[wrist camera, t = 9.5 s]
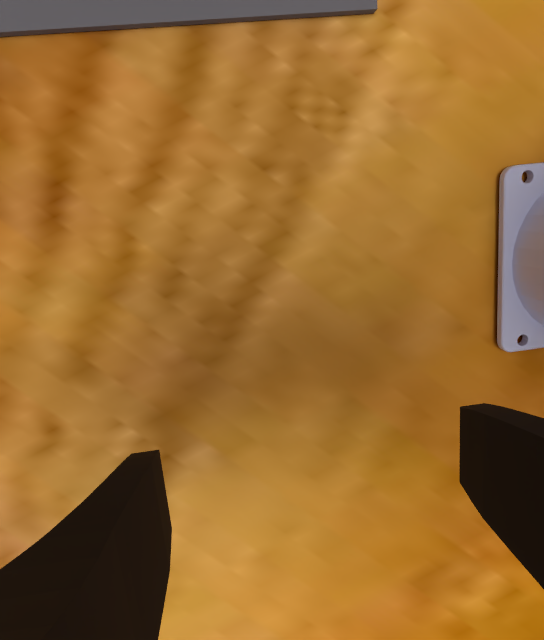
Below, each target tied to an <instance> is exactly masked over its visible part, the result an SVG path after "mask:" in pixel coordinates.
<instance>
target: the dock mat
mask: <svg viewBox="0 0 544 640" xmlns="http://www.w3.org/2000/svg"><path fill="white" fill-rule="evenodd" d="M376 10H377V0H0V37H5V36H21V35H37V34H53V33H69V32H85V31H101V30H117V29H133V28H149V27H165V26H181V25H197V24H213V23H229V22H245V21H261V20H276V19H292V18H308V17H324V16H340V15H356V14H372V13H374V12H375V11H376Z"/></svg>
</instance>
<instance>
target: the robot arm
mask: <svg viewBox="0 0 544 640" xmlns="http://www.w3.org/2000/svg"><path fill="white" fill-rule="evenodd" d="M524 171H525V172H526V173H527V180H526V181H525V183H524V182H523V181H522V178H521V177H522V174H523V173H524ZM520 335H522V337H523V338H522V340H521V342H519V343H517V340H518V337H519V336H520ZM497 344H498V346H499V347H500V348H501V349H503V350H505V351H507V352H515V351H522V350H529V349H536V348H543V347H544V163H534V164H524V165H514V166H510V167H507V168H505V169H504V170H503V171H502V173H501V175H500V186H499V249H498V312H497ZM460 483H461V485H462V487H463V488H464V490H465V492H466V493H467V495H468V496H469V498H470V500H471V501H472V503H473V504H474V506H475V507H476V509H477V510H478V512H479V513H480V515H481V516H482V518H483V519H484V520H485V521H486V522H487V524H488V525H489V526H490V527H491V528H492V530H493V531H494V532H495V533H496V534H497V536H498V537H499V538H500V539H501V540H502V541H503V543H504V544H505V545H506V546H507V547H508V548H509V550H510V551H511V552H512V553H513V554H514V555H515V557H516V558H517V559H518V560H519V561H520V562H521V563H522V565H523V566H524V567H525V568H526V569H527V570H528V572H529V573H530V574H531V575H532V576H533V577H534V578H535V580H536V581H537V582H538V583H539V584H540V585H541V587H542V588H543V589H544V418H541V417H537V416H534V415H530V414H527V413H524V412H520V411H516V410H513V409H509V408H505V407H501V406H496V405H491V404H485V403H483V404H476V405H469V406H462V407H460ZM171 534H172V527H171V521H170V514H169V508H168V502H167V496H166V490H165V484H164V477H163V471H162V465H161V459H160V453H159V450H154V451H147V452H140V453H133V454H131V455H130V456H129V457H127V458H126V459H125V460H124V461H123V462H122V463H121V464H120V465H119V466H118V467H117V468H116V469H115V470H114V471H113V472H112V473H111V474H110V475H109V476H108V477H107V478H106V479H105V480H104V481H103V482H102V483H101V484H100V485H99V486H98V487H97V488H96V489H95V490H94V491H93V492H92V493H91V494H90V495H89V496H88V497H87V498H86V499H85V500H84V501H83V502H82V503H81V504H80V505H79V506H78V507H76V508H75V509H74V510H73V511H72V512H71V513H70V514H69V515H67V516H66V517H65V518H64V519H63V520H62V521H61V522H60V523H58V524H57V525H56V526H55V527H54V528H53V529H52V530H51V531H50V532H48V533H47V534H46V535H45V536H43V537H42V538H41V539H40V540H39V541H37V542H36V543H35V544H33V545H32V546H31V547H30V548H28V549H27V550H26V551H24V552H23V553H22V554H20V555H19V556H18V557H16V558H15V559H14V560H12V561H11V562H10V563H8V564H7V565H6V566H4V567H3V568H1V569H0V640H158V636H159V630H160V625H161V619H162V613H163V608H164V602H165V596H166V590H167V584H168V578H169V572H170V556H171Z"/></svg>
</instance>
